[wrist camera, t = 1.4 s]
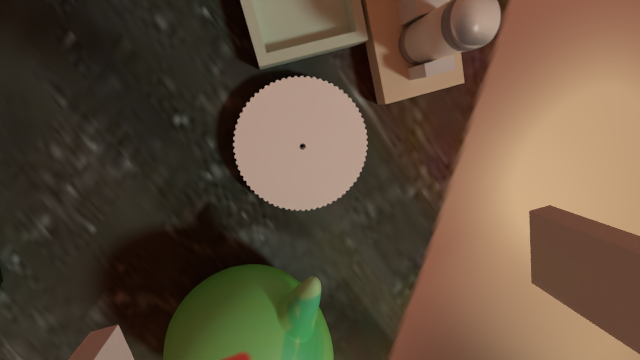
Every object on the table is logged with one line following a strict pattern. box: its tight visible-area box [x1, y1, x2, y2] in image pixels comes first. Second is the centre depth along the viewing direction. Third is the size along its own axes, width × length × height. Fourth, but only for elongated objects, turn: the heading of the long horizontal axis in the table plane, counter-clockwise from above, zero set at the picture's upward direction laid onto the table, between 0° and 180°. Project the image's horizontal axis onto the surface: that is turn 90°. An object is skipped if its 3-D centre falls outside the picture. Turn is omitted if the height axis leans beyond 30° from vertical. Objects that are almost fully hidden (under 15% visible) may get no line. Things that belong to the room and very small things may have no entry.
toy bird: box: [163, 264, 333, 360], centre depth 31 cm, size 18×17×15 cm
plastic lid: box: [233, 76, 368, 211], centre depth 33 cm, size 14×14×2 cm
